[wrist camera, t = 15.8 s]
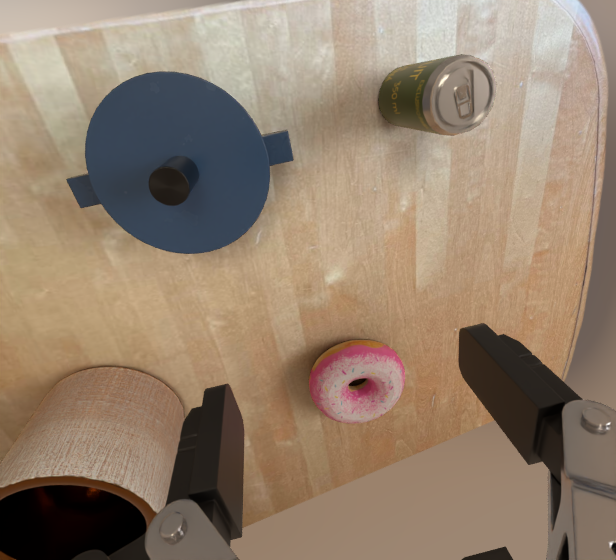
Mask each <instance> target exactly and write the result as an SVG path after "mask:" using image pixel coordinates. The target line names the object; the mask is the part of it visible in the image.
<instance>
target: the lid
mask: <svg viewBox="0 0 616 560" xmlns="http://www.w3.org/2000/svg"><path fill="white" fill-rule="evenodd" d="M85 158H86V166H87V171H88V175H89V178H90V182H91V184H92V186H93V189H94V191H95V193H96V195H97V197H98V199H99V201H100V202H101V204H102V205H103V207H104V208H105V210H106V211H107V212H108V214H109V215H110V216H111V217H112V218H113V219H114V220H115V221H116V223H118V224H119V225H120V226H121V227H122V228H123V229H124V230H125V231H127V232H128V233H130V234H131V235H132V236H134V237H135V238H137V239H139V240H141V241H142V242H144V243H146V244H148V245H151V246H153V247H155V248H159V249H162V250H165V251H169V252H175V253H184V254H195V253H204V252H210V251H213V250H217V249H220V248H222V247H224V246H227V245H229V244H230V243H232V242H234V241H235V240H237V239H238V238H240V237H241V236H242V235H243V234H245V233H246V232H247V231H248V230H249V229H250V227H251V226H252V225H253V224H254V222H255V221H256V220H257V218H258V217H259V215H260V213H261V211H262V209H263V207H264V204H265V201H266V199H267V194H268V190H269V182H270V165H269V159H268V154H267V150H266V147H265V143H264V141H263V138H262V136H261V134H260V131H259V129H258V128H257V126H256V124H255V123H254V121H253V119H252V118H251V117H250V115H249V114H248V113H247V111H246V110H245V109H244V108H243V107H242V106H241V105H240V104H239V103H238V102H237V101H236V100H235V99H234V98H233V97H232V96H231V95H229V94H228V93H227V92H226V91H224V90H223V89H221V88H219V87H218V86H216V85H214V84H213V83H210V82H208V81H206V80H204V79H202V78H199V77H196V76H192V75H189V74H184V73H178V72H153V73H146V74H143V75H139V76H136V77H133V78H131V79H129V80H127V81H125V82H123V83H122V84H120V85H119V86H117V87H116V88H114V89H113V90H112V91H111V92H110V93H109V94H108V95H107V96H106V97H105V98H104V99H103V100H102V102H101V103H100V104H99V106H98V107H97V109H96V111H95V113H94V115H93V117H92V118H91V121H90V124H89V127H88V131H87V136H86V143H85Z"/></svg>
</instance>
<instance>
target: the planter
mask: <svg viewBox="0 0 616 560" xmlns="http://www.w3.org/2000/svg"><path fill="white" fill-rule="evenodd" d="M183 422H184V411H183V407H182V404H181V402H180V400H179V399H178V397H177V396H176V394H175V393H174V392H173V391H172V390H171V389H170V388H169V387H168V386H167V385H165V384H164V383H163V382H161V381H160V380H158V379H156V378H155V377H153V376H150V375H148V374H146V373H143V372H140V371H137V370H133V369H128V368H121V367H97V368H90V369H86V370H82V371H79V372H76V373H74V374H71V375H69V376H67V377H66V378H64V379H62V380H61V381H60V382H58V383H57V384H56V385H55V386H54V387H53V388H52V389H51V390H50V391H49V392H48V394H47V395H46V396H45V397H44V399H43V400H42V402H41V403H40V405H39V406H38V408H37V409H36V411H35V412H34V414H33V415H32V417H31V418H30V420H29V421H28V423H27V424H26V426H25V427H24V429H23V430H22V432H21V433H20V435H19V437H18V438H17V440H16V441H15V443H14V444H13V446H12V447H11V449H10V450H9V452H8V453H7V455H6V456H5V458H4V459H3V461H2V462H1V464H0V560H72V559H73V558H74V557H76V556H77V555H79V554H81V553H83V552H86V551H89V550H100V551H102V552H104V553H105V554H106V555H107V556H109V555H111V554H113V553H114V552H116V551H118V550H119V549H121V548H123V547H124V546H126V545H128V544H130V543H131V542H133V541H135V540H136V539H138V538H139V537H141V536H142V535H143V534H145V533H146V532H147V529H148V527H149V525H150V523H151V521H152V520H153V518H154V517H155V516H156V515H157V513H158V512H159V511H160V510H161V509H163V508H164V507H165V504H166V501H167V496H168V491H169V487H170V482H171V477H172V472H173V468H174V463H175V458H176V454H177V453H178V452H177V449H178V444H179V441H180V435H181V430H182V425H183Z"/></svg>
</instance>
